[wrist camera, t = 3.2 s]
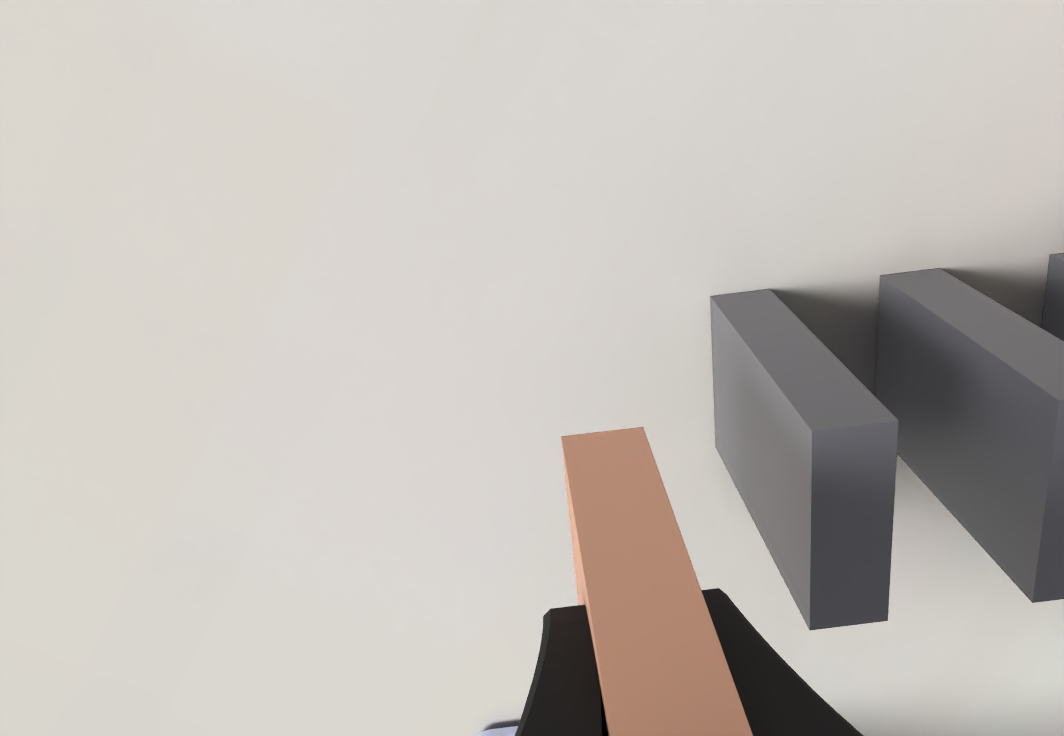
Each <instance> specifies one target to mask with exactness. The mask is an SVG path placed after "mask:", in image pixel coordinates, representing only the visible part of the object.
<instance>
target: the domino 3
mask: <svg viewBox="0 0 1064 736" xmlns="http://www.w3.org/2000/svg"><path fill="white" fill-rule="evenodd" d="M875 397H876V398H877V399H878V400H879V401H880V402H881V403H882V404H883V405H884V406H885V407H886V408H887V409H888V410H889V411H890V412H891V413H892V414H893V415H894V416H895V417H896V418H897V419H898V420H899V421H898V439H897V454H898V455H899V456H900V457H901V458H902V459H903V461H904V462H905V463H906V464H907V465H908V466H909V467H910V468H911V469H912V470H913V472H914V473H915V474H916V475H917V476H918V477H919V478H920V479H921V480H922V481H923V483H924V484H925V485H926V486H927V487H928V488H929V489H930V490H931V491H932V492H933V494H934V495H935V496H936V497H937V498H938V499H939V500H940V501H941V502H942V504H943V505H944V506H945V507H946V508H947V509H948V510H949V511H950V512H951V513H952V515H953V516H954V517H955V518H956V519H957V520H958V521H959V522H960V523H961V524H962V526H963V527H964V528H965V529H966V530H967V531H968V532H969V533H970V534H971V536H972V537H973V538H974V539H975V540H976V541H977V542H978V543H979V544H980V545H981V547H982V548H983V549H984V550H985V551H986V552H987V553H988V554H989V555H990V556H991V558H992V559H993V560H994V561H995V562H996V563H997V564H998V565H999V566H1000V567H1001V569H1002V570H1003V571H1004V572H1005V573H1006V574H1007V575H1008V576H1009V577H1010V579H1011V580H1012V581H1013V582H1014V583H1015V584H1016V585H1017V586H1018V587H1019V588H1020V590H1021V591H1022V592H1023V593H1024V594H1025V595H1026V596H1027V597H1028V598H1029V599H1030V601H1031V602H1032V603H1034V602H1042V601H1050V600H1059V599H1064V341H1062V340H1060V339H1059V338H1057V337H1055V336H1054V335H1052V334H1050V333H1049V332H1047V331H1045V330H1043V329H1042V328H1040V327H1038V326H1037V325H1035V324H1033V323H1032V322H1030V321H1028V320H1027V319H1025V318H1023V317H1021V316H1020V315H1018V314H1016V313H1015V312H1013V311H1011V310H1010V309H1008V308H1006V307H1004V306H1003V305H1001V304H999V303H998V302H996V301H994V300H993V299H991V298H989V297H988V296H986V295H984V294H982V293H981V292H979V291H977V290H976V289H974V288H972V287H971V286H969V285H967V284H965V283H964V282H962V281H960V280H959V279H957V278H955V277H954V276H952V275H950V274H949V273H947V272H945V271H943V270H942V269H940V268H936V269H928V270H920V271H912V272H904V273H896V274H888V275H880V288H879V312H878V336H877V360H876V384H875Z"/></svg>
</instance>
